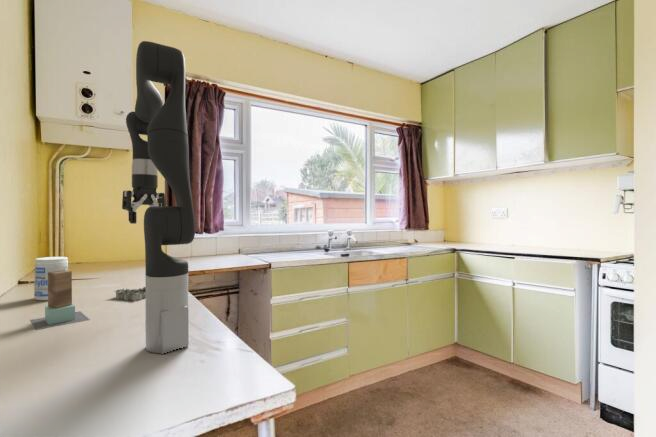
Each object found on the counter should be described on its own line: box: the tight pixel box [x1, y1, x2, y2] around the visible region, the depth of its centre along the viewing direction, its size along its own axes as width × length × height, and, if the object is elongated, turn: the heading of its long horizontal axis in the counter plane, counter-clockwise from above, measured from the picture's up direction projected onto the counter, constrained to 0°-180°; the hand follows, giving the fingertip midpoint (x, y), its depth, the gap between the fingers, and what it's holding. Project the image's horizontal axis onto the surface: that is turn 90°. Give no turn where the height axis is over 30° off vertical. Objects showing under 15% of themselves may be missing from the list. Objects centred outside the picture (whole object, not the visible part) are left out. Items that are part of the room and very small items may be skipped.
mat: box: [29, 310, 91, 331], centre depth 99 cm, size 12×12×1 cm
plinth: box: [44, 303, 76, 325], centre depth 98 cm, size 6×6×4 cm
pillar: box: [47, 270, 73, 309], centre depth 98 cm, size 4×4×10 cm
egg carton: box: [113, 286, 146, 302], centre depth 125 cm, size 11×8×4 cm
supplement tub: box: [33, 256, 69, 301], centre depth 124 cm, size 10×10×15 cm
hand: (145, 223), depth 112 cm, fingers open, 8 cm apart
